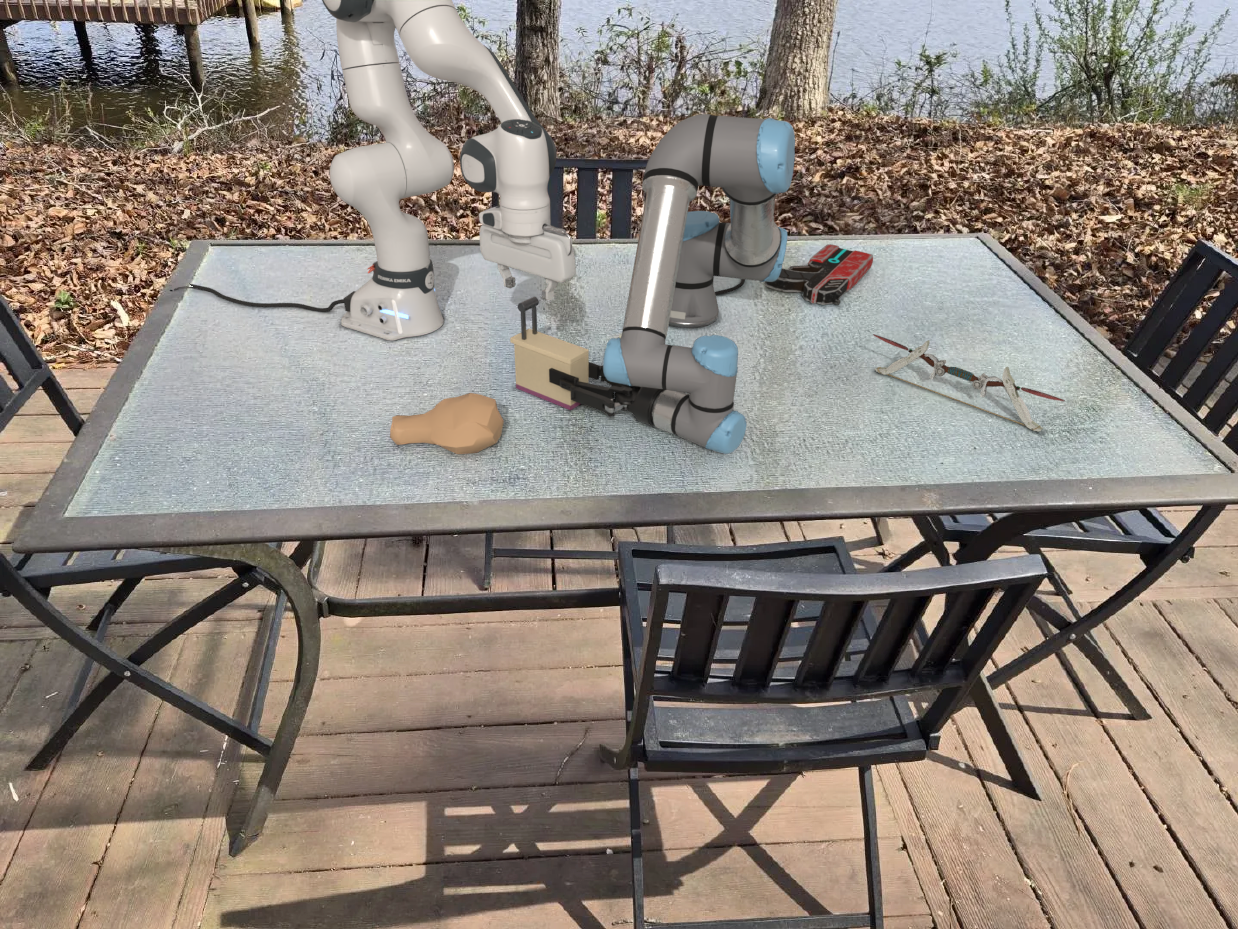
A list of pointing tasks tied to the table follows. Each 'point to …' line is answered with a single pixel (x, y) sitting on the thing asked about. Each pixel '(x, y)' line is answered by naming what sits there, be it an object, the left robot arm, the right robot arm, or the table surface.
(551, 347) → the lid
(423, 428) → the squash
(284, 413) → the table surface
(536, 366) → the chest
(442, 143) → the left robot arm
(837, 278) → the gun
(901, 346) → the bow
